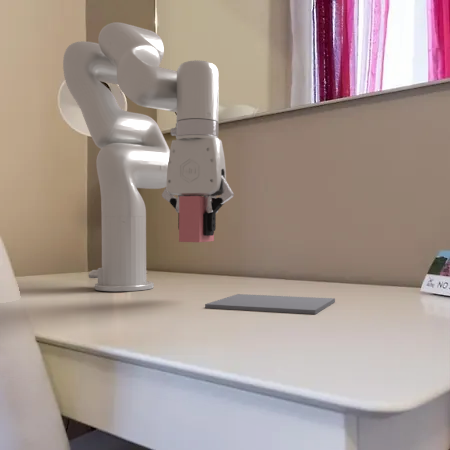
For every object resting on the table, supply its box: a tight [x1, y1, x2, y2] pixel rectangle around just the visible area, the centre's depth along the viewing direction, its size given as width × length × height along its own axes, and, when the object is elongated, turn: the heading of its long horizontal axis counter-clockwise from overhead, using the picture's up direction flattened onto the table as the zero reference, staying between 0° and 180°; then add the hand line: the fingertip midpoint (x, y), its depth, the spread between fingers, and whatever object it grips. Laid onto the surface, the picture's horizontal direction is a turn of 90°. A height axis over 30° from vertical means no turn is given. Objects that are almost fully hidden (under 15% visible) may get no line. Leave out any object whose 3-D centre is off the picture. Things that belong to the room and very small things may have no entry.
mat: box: [204, 293, 336, 315], centre depth 88 cm, size 18×14×1 cm
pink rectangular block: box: [178, 196, 215, 243], centre depth 95 cm, size 4×6×8 cm, turn 156°
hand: (196, 234), depth 95 cm, fingers closed on pink rectangular block, 4 cm apart
